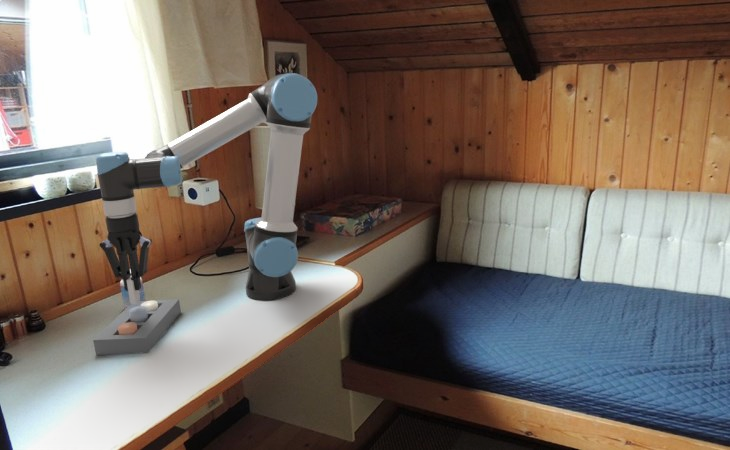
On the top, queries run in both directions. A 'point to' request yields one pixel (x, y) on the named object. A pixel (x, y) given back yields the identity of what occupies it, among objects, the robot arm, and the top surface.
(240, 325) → the top surface
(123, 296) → the pill bottle
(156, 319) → the tray
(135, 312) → the blue-grey rounded block
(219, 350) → the top surface
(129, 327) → the terracotta button
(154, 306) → the cream button
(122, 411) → the top surface
